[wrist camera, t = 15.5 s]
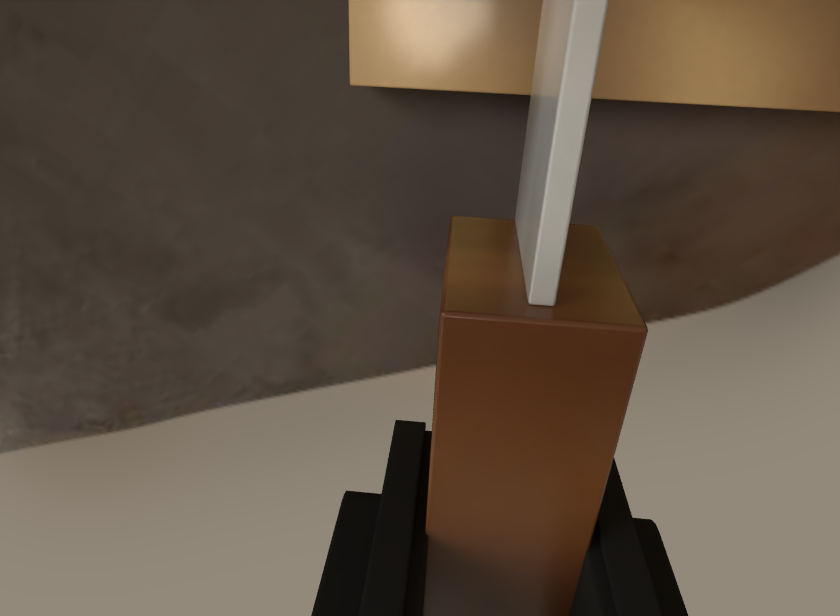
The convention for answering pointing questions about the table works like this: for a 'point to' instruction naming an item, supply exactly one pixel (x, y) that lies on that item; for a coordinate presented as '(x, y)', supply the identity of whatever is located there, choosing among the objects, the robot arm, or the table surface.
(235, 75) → the table surface
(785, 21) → the board
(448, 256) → the knife
